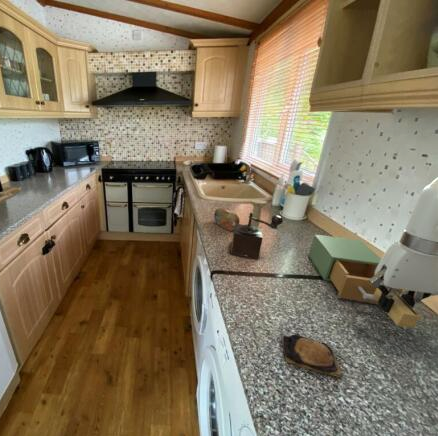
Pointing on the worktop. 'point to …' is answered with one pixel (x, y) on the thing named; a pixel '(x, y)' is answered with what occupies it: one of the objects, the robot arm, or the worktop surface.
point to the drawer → (354, 280)
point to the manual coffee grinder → (250, 237)
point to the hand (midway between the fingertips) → (392, 309)
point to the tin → (226, 218)
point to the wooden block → (400, 311)
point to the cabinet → (339, 253)
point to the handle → (257, 211)
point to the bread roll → (310, 355)
